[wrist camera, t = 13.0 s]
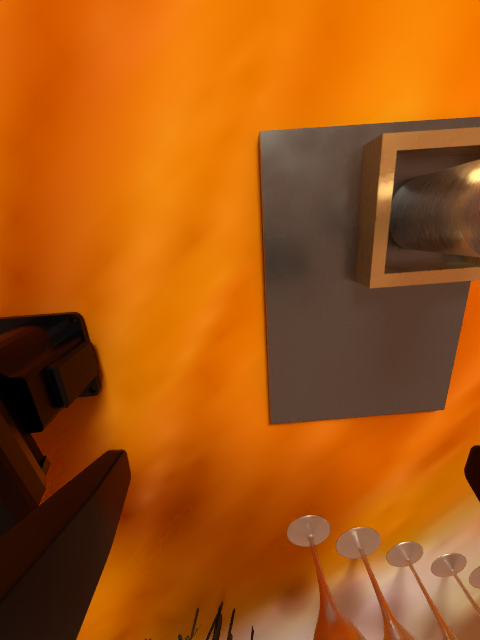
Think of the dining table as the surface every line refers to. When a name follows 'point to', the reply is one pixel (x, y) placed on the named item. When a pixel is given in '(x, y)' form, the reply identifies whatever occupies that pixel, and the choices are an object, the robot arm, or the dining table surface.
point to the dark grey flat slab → (357, 271)
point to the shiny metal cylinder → (439, 212)
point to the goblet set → (372, 577)
